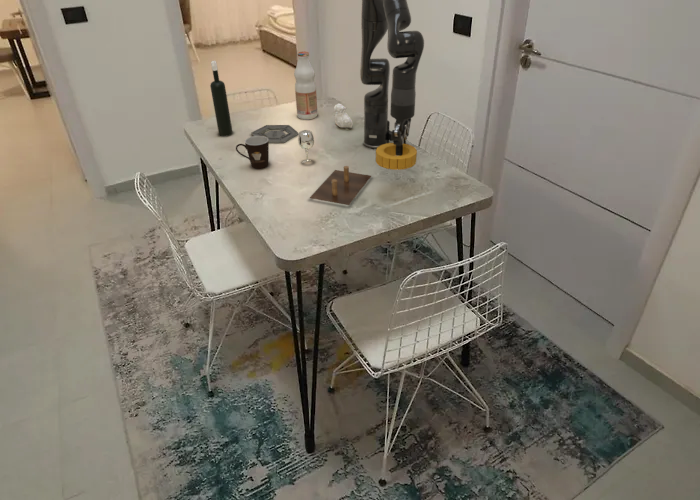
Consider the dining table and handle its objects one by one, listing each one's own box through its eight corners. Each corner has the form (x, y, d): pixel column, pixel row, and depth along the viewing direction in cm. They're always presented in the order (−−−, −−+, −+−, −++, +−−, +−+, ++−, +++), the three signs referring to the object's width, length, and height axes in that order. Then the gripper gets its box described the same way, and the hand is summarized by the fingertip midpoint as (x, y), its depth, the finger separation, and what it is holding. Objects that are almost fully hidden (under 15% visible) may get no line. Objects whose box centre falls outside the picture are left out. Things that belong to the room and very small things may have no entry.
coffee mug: (275, 162, 186) (273, 137, 180) (263, 172, 180) (260, 146, 174) (250, 157, 190) (246, 133, 184) (237, 166, 184) (233, 141, 178)
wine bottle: (235, 132, 211) (223, 60, 194) (226, 137, 207) (213, 63, 190) (225, 130, 214) (213, 58, 196) (216, 134, 210) (202, 61, 192)
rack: (335, 172, 179) (334, 156, 175) (371, 178, 174) (371, 162, 171) (309, 200, 162) (308, 183, 159) (348, 207, 158) (348, 190, 154)
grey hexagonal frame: (255, 126, 216) (254, 125, 215) (300, 126, 215) (300, 124, 215) (247, 142, 202) (247, 140, 201) (295, 142, 201) (295, 140, 201)
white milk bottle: (296, 120, 222) (291, 55, 206) (297, 112, 230) (292, 50, 214) (317, 119, 222) (313, 55, 206) (317, 112, 230) (314, 49, 214)
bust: (336, 126, 221) (321, 110, 213) (348, 114, 220) (333, 97, 213) (349, 135, 212) (334, 118, 204) (361, 122, 212) (346, 105, 204)
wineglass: (313, 166, 183) (311, 136, 176) (298, 165, 184) (295, 135, 177) (317, 159, 188) (315, 129, 181) (302, 158, 189) (300, 129, 182)
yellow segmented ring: (399, 149, 165) (400, 139, 163) (424, 163, 156) (425, 152, 154) (368, 158, 159) (368, 148, 157) (391, 173, 150) (392, 162, 148)
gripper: (408, 109, 145) (405, 163, 155) (420, 95, 155) (417, 146, 165) (384, 106, 147) (382, 160, 157) (397, 92, 158) (395, 143, 168)
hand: (400, 152), depth 161 cm, fingers closed on yellow segmented ring, 2 cm apart
